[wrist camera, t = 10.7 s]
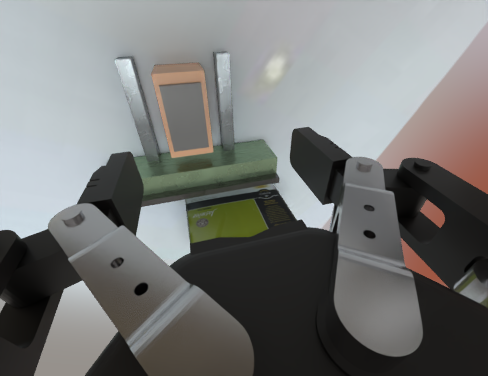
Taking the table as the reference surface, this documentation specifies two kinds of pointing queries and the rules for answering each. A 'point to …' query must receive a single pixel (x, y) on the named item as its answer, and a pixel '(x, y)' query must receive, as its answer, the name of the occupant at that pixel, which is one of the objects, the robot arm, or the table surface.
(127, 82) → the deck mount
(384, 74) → the table surface
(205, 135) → the framed panel box
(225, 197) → the tea box
